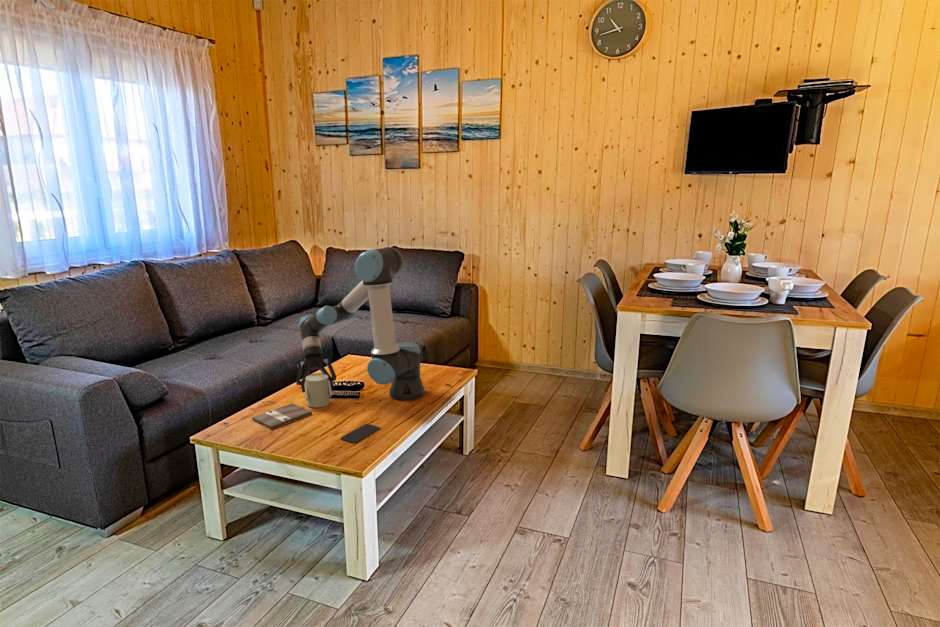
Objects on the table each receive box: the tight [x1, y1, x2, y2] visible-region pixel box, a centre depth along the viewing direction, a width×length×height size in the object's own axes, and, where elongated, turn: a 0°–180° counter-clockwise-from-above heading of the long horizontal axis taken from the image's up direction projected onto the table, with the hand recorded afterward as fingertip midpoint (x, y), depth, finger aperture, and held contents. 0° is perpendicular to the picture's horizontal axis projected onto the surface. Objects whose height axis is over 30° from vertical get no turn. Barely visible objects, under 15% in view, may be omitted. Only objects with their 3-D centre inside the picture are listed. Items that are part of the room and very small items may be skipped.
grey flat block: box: [251, 402, 313, 430], centre depth 219 cm, size 13×18×2 cm
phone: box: [340, 423, 381, 444], centre depth 205 cm, size 7×1×15 cm
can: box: [305, 372, 331, 408], centre depth 230 cm, size 9×9×12 cm
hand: (318, 397), depth 228 cm, fingers closed on can, 9 cm apart
